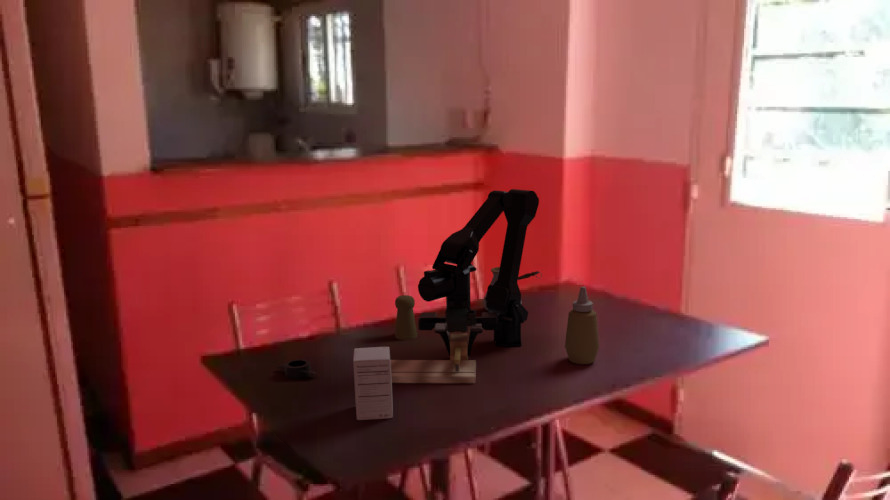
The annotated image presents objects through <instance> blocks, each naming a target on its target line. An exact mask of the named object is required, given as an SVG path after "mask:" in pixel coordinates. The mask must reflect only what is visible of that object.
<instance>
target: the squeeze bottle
mask: <svg viewBox="0 0 890 500" xmlns="http://www.w3.org/2000/svg"><path fill="white" fill-rule="evenodd" d="M579 288H580V289H579V293H578V296H577V299H576V300H574V301H573V302H572V309H571V310H569V312H568V315H567V325H566V332H565V334H566V335H565V342H564V348H565V352H566V355H567V357H568V360H569V362H571V363H573V364H577V365H590V364H593V363H594V362H595V360H596V357H597V355H598V352H599V349H600V340H599V338H600V337H599V328H598V327H599V326H598V317H597V312H596V311H595V310H594V309H593V308H594V306H593V305H594V303H593V301H591V300H589V298H588V294H587V288H586V286H580V287H579Z"/></svg>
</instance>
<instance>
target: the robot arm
mask: <svg viewBox="0 0 890 500" xmlns="http://www.w3.org/2000/svg"><path fill="white" fill-rule="evenodd" d="M539 203H540V198H539V196H538V195H537V193H536V192H535V191H534V190H529V189H528V190H527V189H518V188H512V189H509V190H508V191H506V190H495V189H494V190H492V191H490V192H489V193H488V195H487V198H486V199H485V201H484V202H483V203H482V204H481V206H479V208H478V210H476V212H475V213H474V214H473V215H472V216H471V218H470V219H469V220H468V222H467V223H466V224H465V226H463V227H462V228H461V229H459V230H457V231H455V232H454V233H451V234H450V235H449V236H448V237H447V238H445V239H444V241H443V242H442V243H441V245H440V250H439V251H438V254H437V255H436V257H435V259H434V262H433V265H432V266H431V269H432V270H425V271H424V272H423V277H421V278H420V279H419V281H418V284H417V290H418V294H419V295H420V297H421V299H422V300H423V301H425V302H428V303H429V302H432V301H436V300H439V299H443V298H445V303H446V304H445V305H446V306H445V308H446V309H445V311H444V313H445V316H437V312H436V311H435V312H430V311H429V312H424V311H423V312H421V313H420V315H419V318H418V322H417V323H418V330H419V331H432V330H434V333H435V334H438V335H439V336H440V337H441V339H442V341H443V343H444V346H445V348H446V351H447V353H448V357H450V339H451V334H450V333H454V332H455V333H457V332H459V333H467V332H468V331H469V333H468V357H470V356H471V355H470V354H471V351H472V349H473V346H474V342H475V339H476V338H477V336H479V335H478V334H482V333H483V330H484V331H493V341H494V342H495V346H496V347H521V346H522V345H523V343H522V324H524V323H525V322H526V321H528V317H529V311H528V310H527V309H526V307H524V305H523V303H522V304H521V301H522V292H521V289H520V287H519V284H518V281H519V280H518V277H519V275H520V268H521V263H522V257H523V252H524V245H525V240H526V235H527V230H528V226H529V225H530V224H531V222H532V221H533V220H534V219H535V217H536V215H537V212H538V207H539ZM501 214H504V217H505V219H506V222H507V224H506V229H505V230H506V232H505V234H504V235H505V236H504V242H503V247H502V253H501V257H500V258H501V259H500V264H499V267H500V269H499V275H498V279H497V281H496V282H495V283H494V284H493V285H490V284H488V286H487V291H486V292H487V296H486V298H485V301H486V308H488V312H485V311H484V312H481V316H477V310H476V309H471V306H472V305H471V301H472V300H471V273H473V272H476V271H477V267H475V266H474V265H473V264H472V262H473V261H474V260H475V257H476V256H477V254H478V252H479V251H480V250H479V249H480V248H479V247H480V242H481V240H482V238H484V236H485V235H486V233H487V232H489V230H490V229H491V227H492V226H493V225H494V224H495V222H496V221H497V220H498V218H500V216H501Z"/></svg>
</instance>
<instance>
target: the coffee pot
mask: <svg viewBox="0 0 890 500" xmlns="http://www.w3.org/2000/svg"><path fill="white" fill-rule="evenodd" d="M499 269H500V266H496V267H492V268H491V269H490V271H491V273H492V275H493V276H492V278H491V280H490V283H489V285H493V284H494V283H495V282H496V281H497V279H498V275H499ZM538 274H540V277H537V275H538ZM534 276H535V278H536V279H538V280H539V279H541V278H542V277H543V274H542V273H541V272H540V271H539V270H536V271H531V272H529V273H528V272H527V273H524V274H522V275H520V276H519V275H518V281H520V280H525V279H529V278H531V277H534ZM486 296H487V291H486V292H485V295H484V297H483V300H482V305H483V308H484V309H485V310H486V311H488V308H486V301H485V298H486ZM521 304H522V305H523V302H522V300H521Z"/></svg>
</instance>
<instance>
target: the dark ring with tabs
mask: <svg viewBox="0 0 890 500" xmlns="http://www.w3.org/2000/svg"><path fill="white" fill-rule="evenodd" d="M277 369H281V370H282V369H283V370H284V374H285V375H284V376H286V377H285V378H286V379H288V378H289V379H290V380H302V379H305V378H308V377H309V376H311V375H319V373H318V372H315V371H312V370H311V361H310V360H308V359H306V358H296V359H295V358H294V359H291V360H288V361H286V362H285V363H281V364H280V365H278V367H277Z"/></svg>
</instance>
